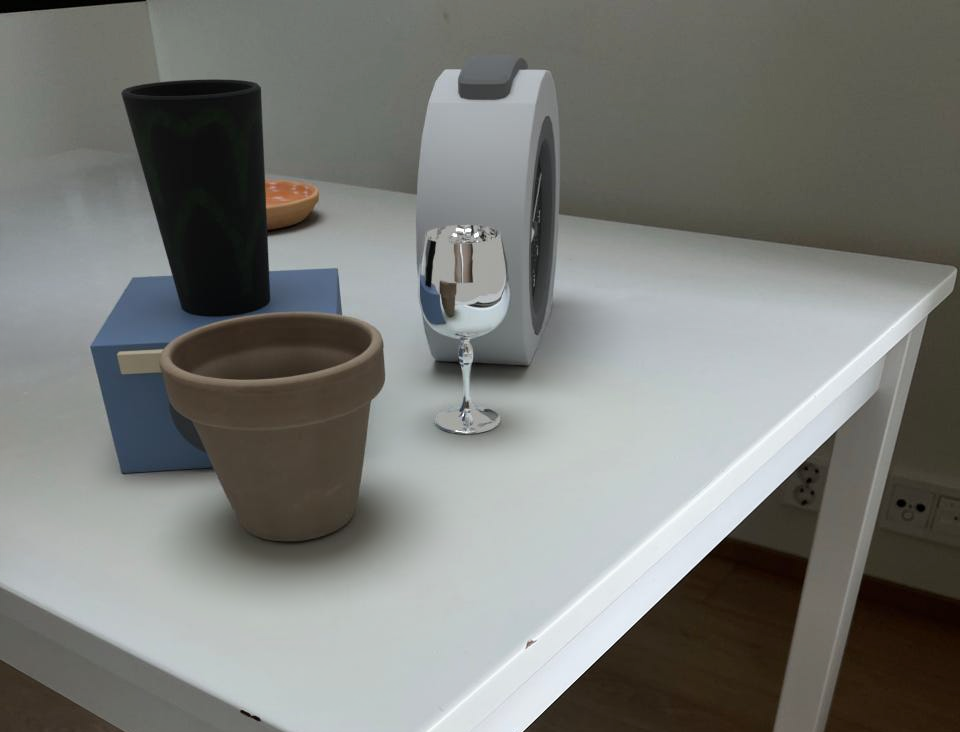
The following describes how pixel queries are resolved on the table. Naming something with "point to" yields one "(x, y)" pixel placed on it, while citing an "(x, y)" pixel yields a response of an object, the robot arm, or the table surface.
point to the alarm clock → (496, 188)
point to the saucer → (288, 202)
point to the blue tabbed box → (136, 371)
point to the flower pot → (281, 413)
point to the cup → (206, 188)
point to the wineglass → (464, 304)
